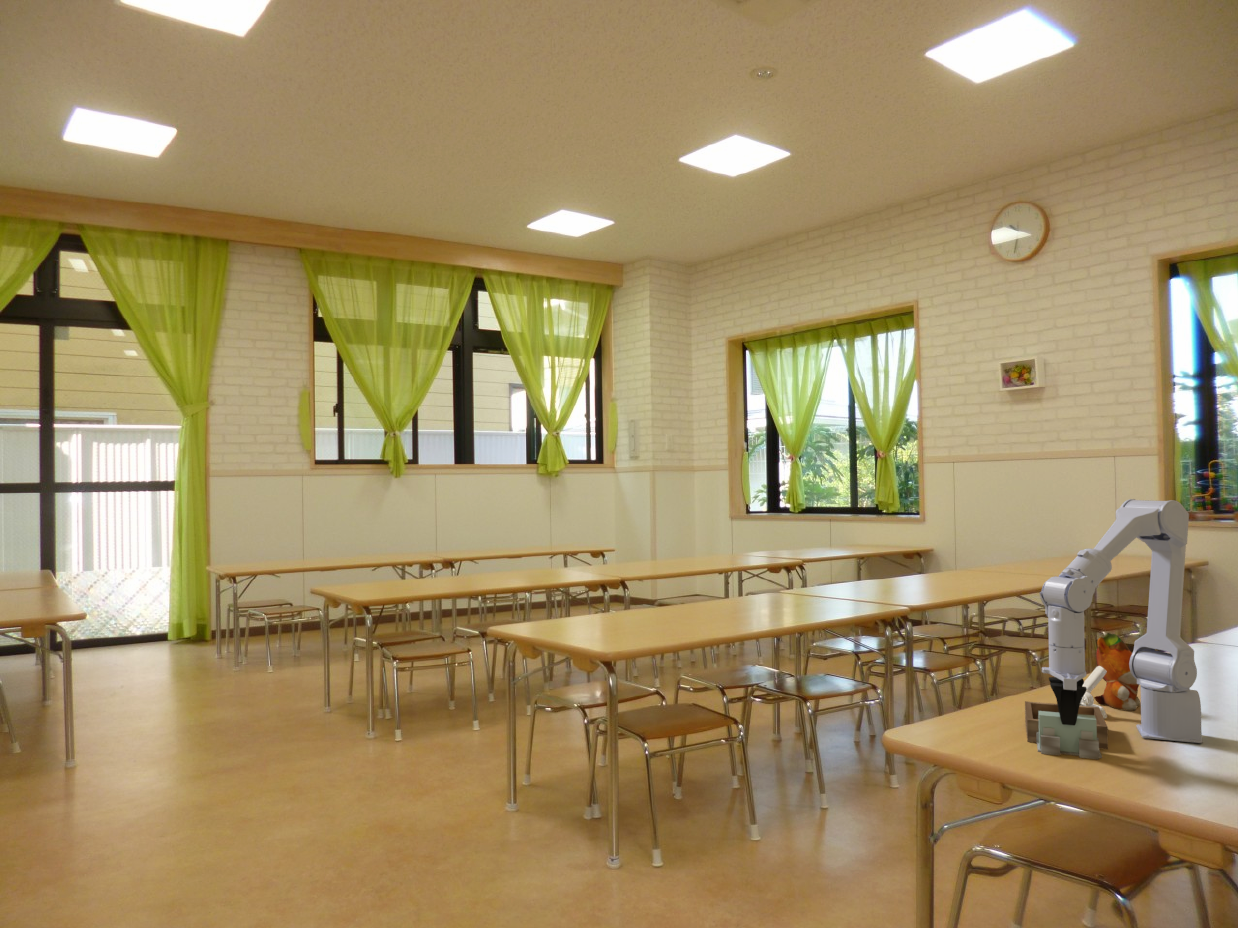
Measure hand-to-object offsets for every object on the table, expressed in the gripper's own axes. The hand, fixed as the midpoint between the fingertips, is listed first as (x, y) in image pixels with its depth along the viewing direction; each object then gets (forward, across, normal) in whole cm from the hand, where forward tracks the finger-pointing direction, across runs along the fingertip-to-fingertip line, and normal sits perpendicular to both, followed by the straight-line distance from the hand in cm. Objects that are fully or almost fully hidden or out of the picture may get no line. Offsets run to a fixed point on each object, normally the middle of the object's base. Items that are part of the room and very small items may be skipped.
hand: (1067, 721), depth 157 cm
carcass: (+5, -7, 0) cm, 9 cm away
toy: (+5, -37, +12) cm, 40 cm away
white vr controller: (+5, -27, +5) cm, 28 cm away
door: (+5, 0, 0) cm, 5 cm away
